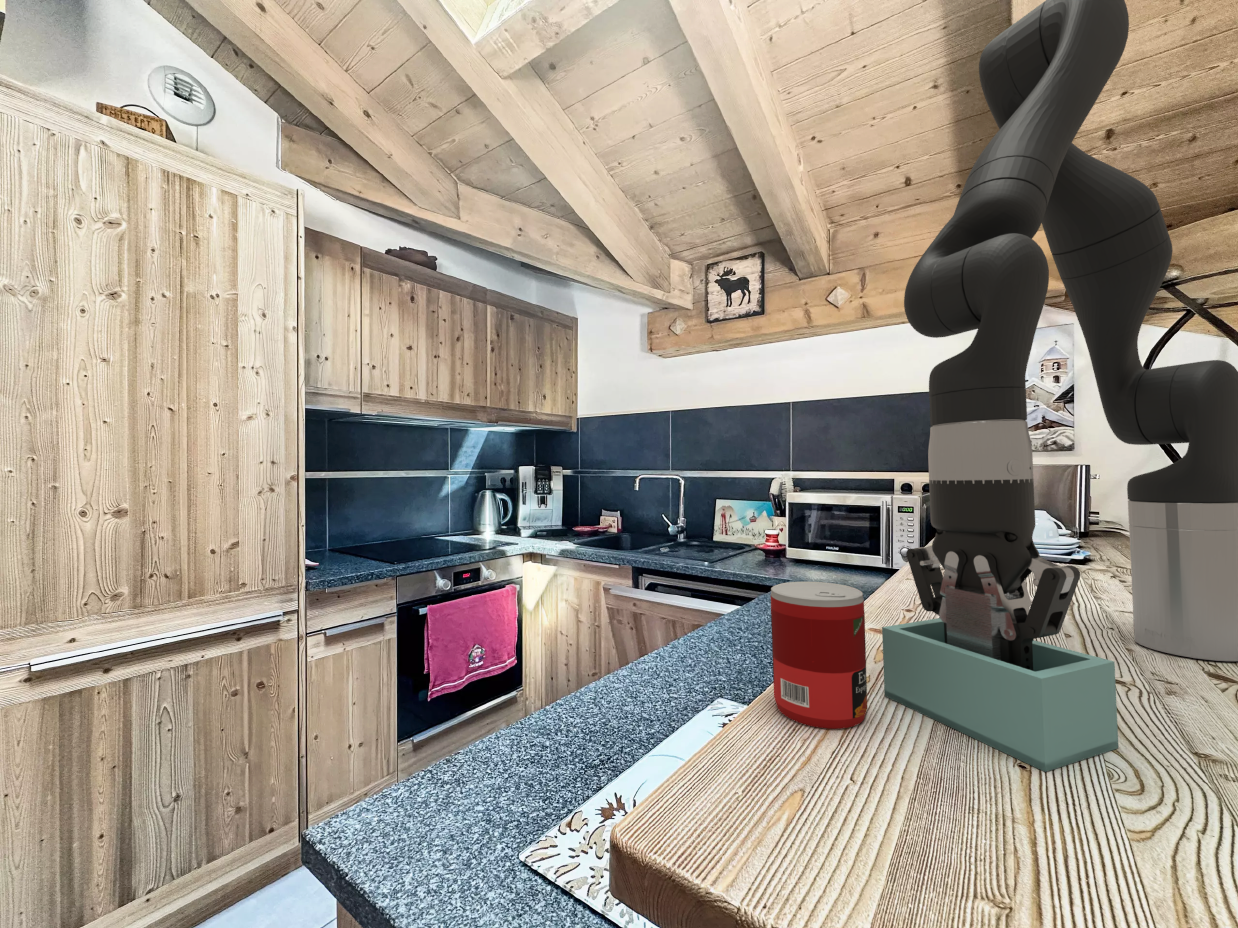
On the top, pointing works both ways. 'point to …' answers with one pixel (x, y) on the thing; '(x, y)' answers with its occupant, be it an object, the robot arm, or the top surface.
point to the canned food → (819, 653)
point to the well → (1006, 695)
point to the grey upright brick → (973, 621)
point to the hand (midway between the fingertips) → (986, 672)
